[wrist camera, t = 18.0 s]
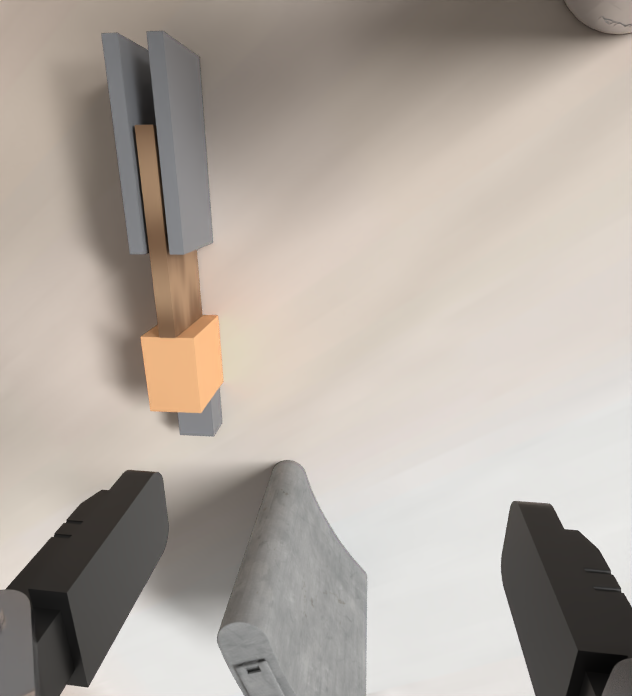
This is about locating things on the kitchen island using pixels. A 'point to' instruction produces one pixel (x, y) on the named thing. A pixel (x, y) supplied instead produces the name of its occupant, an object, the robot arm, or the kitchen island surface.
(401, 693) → the kitchen island surface
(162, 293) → the gate
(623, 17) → the robot arm
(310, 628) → the hip flask
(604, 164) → the kitchen island surface
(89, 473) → the kitchen island surface
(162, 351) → the orange block
